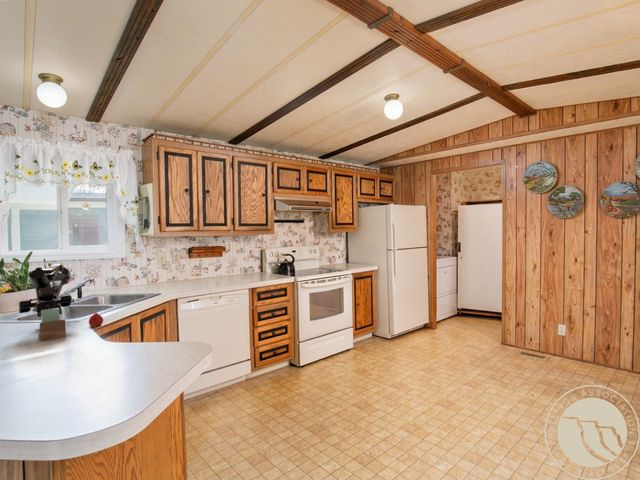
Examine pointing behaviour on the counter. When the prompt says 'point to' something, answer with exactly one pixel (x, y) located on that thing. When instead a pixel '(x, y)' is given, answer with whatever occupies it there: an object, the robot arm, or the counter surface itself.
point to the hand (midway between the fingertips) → (48, 318)
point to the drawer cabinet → (52, 330)
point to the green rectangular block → (50, 315)
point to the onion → (95, 320)
